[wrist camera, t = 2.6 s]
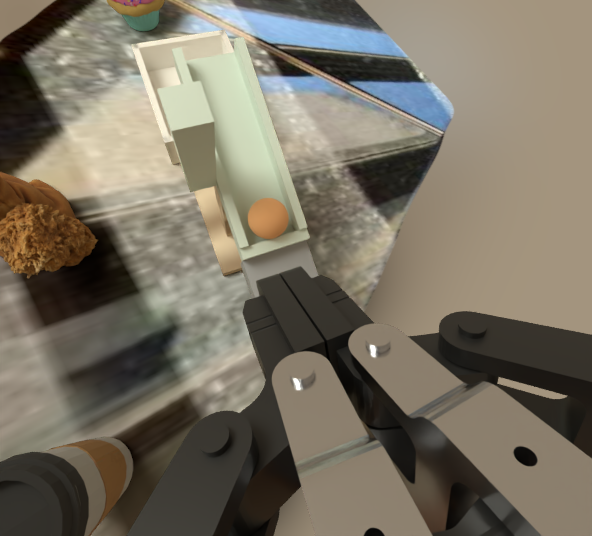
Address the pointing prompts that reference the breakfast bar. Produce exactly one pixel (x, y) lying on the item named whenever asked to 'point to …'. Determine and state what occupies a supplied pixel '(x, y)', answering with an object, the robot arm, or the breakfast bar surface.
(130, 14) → the cupcake
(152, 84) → the tub
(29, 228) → the stuffed squirrel
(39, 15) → the breakfast bar surface
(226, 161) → the tilting chute
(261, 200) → the ball
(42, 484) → the coffee cup
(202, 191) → the fulcrum stand
